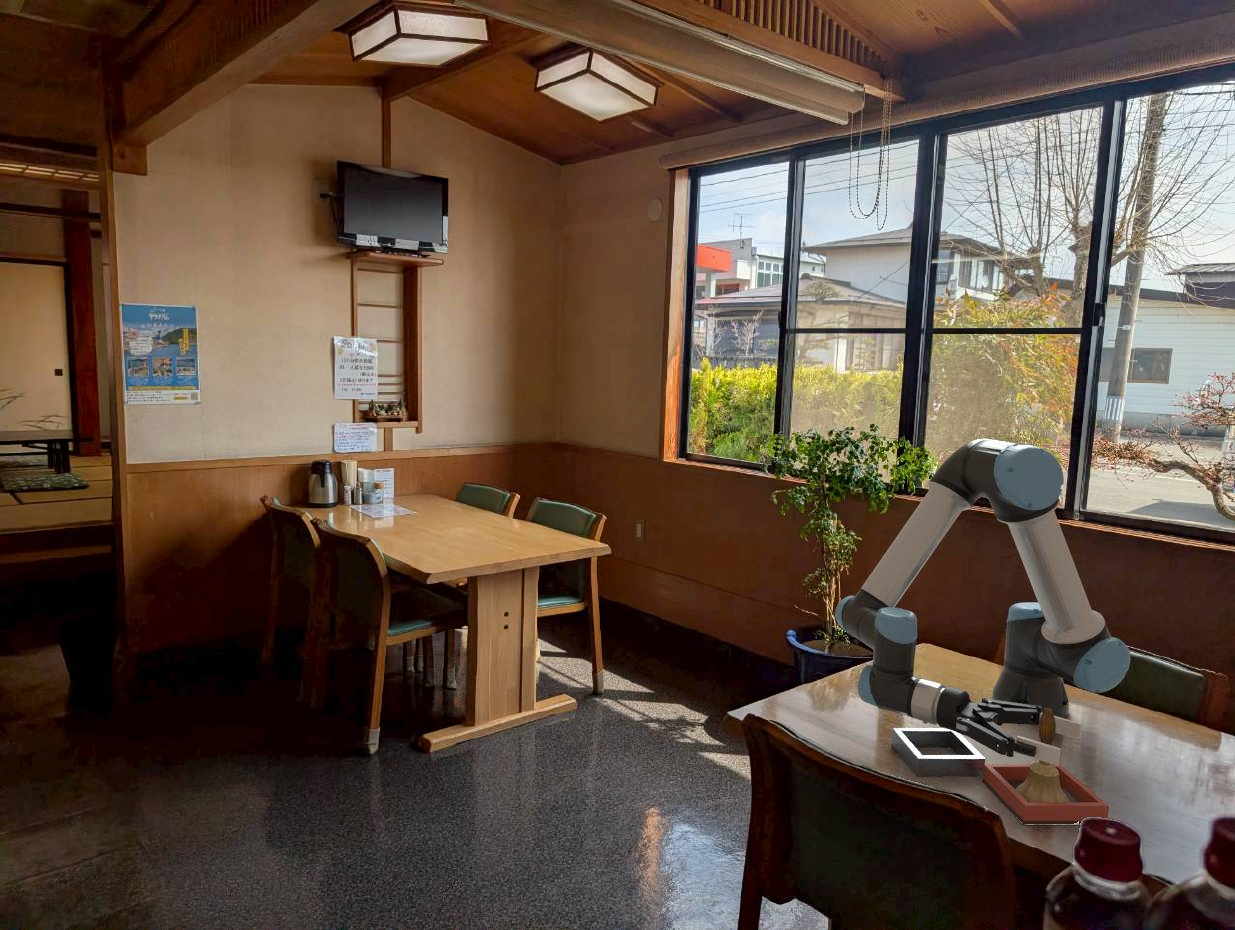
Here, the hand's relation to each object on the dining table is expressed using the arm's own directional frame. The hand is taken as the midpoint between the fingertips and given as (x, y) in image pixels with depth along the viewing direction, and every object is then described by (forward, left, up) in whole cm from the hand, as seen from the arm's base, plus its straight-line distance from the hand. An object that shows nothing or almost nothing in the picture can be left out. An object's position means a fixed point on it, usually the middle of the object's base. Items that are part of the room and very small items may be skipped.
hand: (1070, 743), depth 138 cm
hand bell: (+2, -3, -11) cm, 12 cm away
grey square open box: (+14, -17, -12) cm, 26 cm away
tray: (+2, -2, -12) cm, 12 cm away
